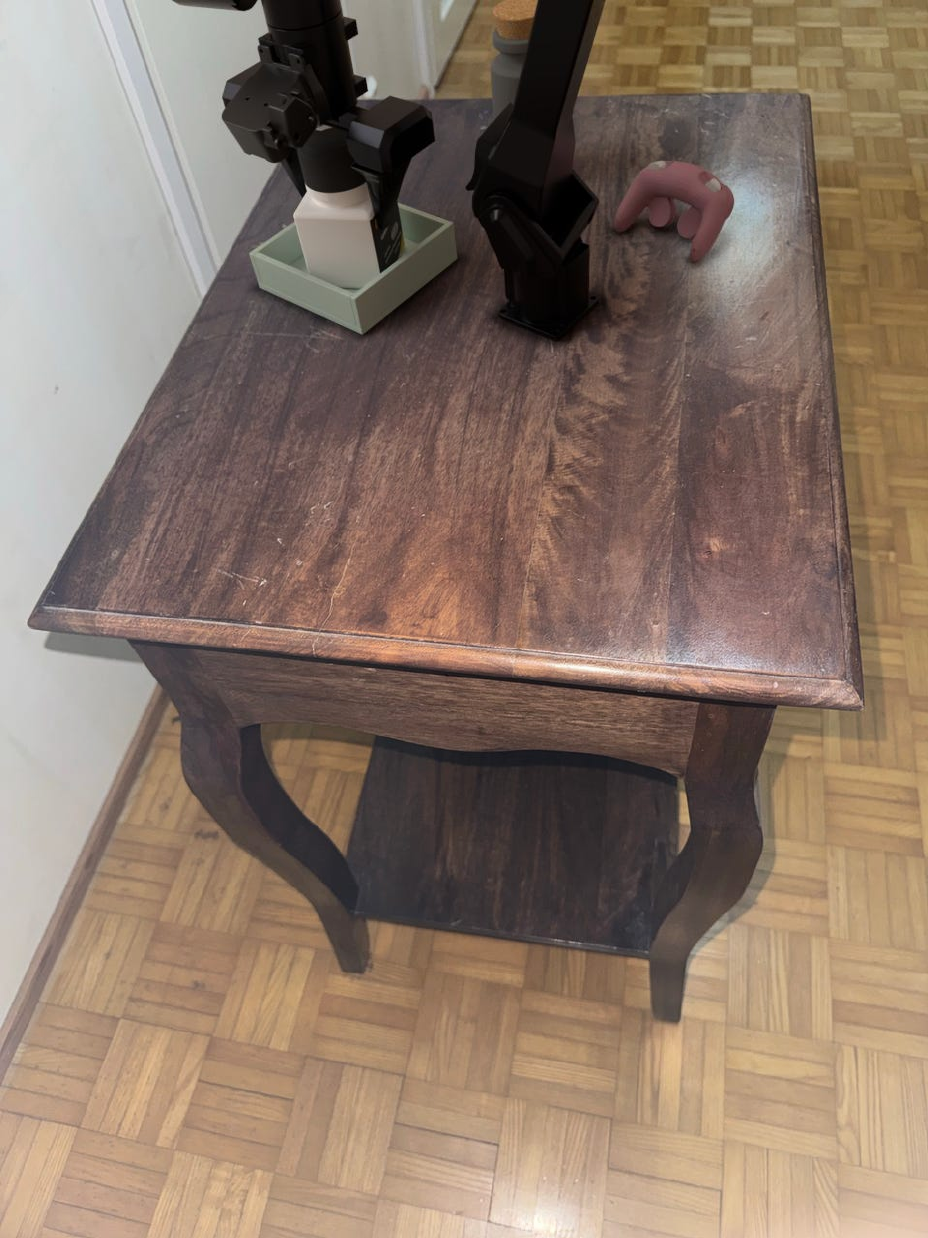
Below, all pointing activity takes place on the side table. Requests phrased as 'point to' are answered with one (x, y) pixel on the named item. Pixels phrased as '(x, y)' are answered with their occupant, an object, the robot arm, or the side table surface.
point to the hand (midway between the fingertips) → (346, 212)
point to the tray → (365, 307)
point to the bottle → (509, 48)
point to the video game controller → (688, 186)
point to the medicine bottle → (341, 216)
